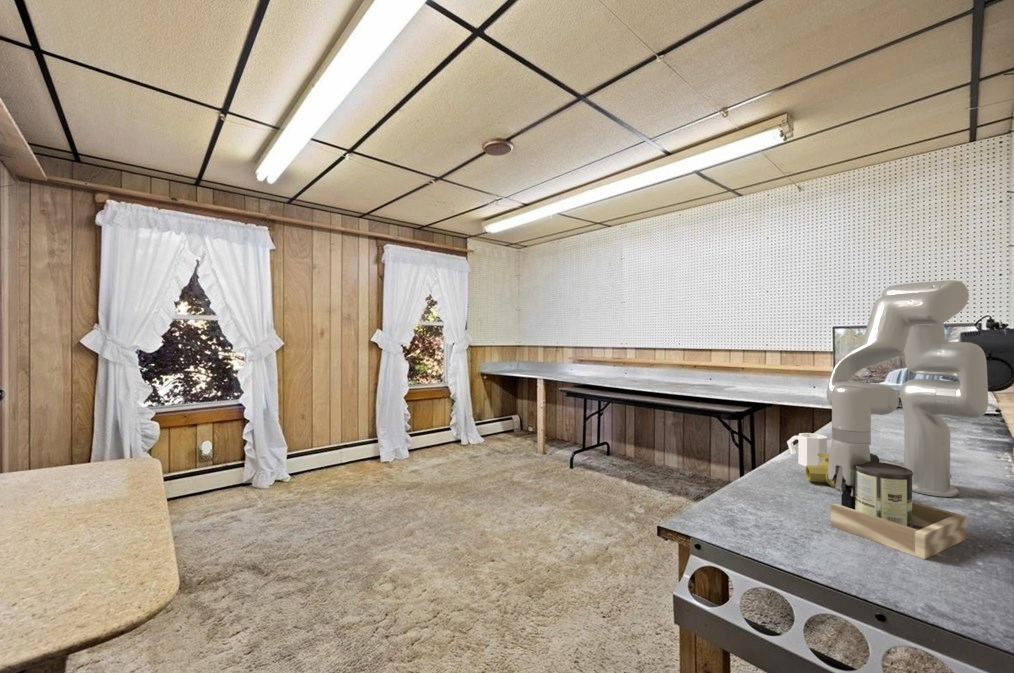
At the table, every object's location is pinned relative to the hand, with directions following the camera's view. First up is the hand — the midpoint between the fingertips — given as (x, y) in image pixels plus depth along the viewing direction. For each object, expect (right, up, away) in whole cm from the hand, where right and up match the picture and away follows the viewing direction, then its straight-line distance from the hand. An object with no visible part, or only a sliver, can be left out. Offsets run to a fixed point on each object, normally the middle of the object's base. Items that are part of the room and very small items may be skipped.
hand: (850, 510), depth 107 cm
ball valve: (+11, -2, +23) cm, 26 cm away
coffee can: (+3, -2, -6) cm, 7 cm away
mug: (+19, -1, +43) cm, 47 cm away
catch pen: (+4, -2, -8) cm, 9 cm away
